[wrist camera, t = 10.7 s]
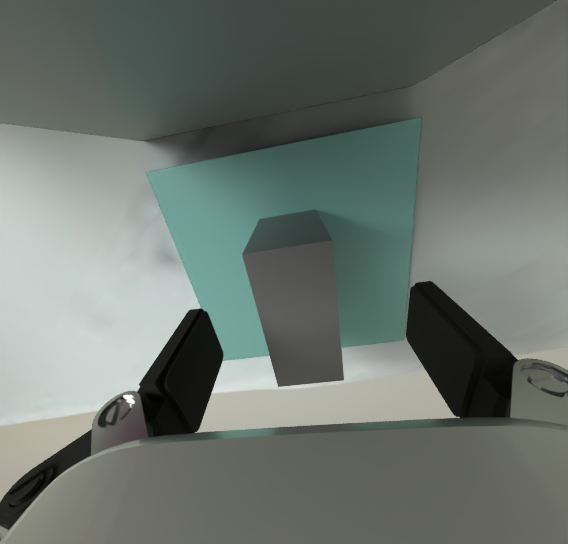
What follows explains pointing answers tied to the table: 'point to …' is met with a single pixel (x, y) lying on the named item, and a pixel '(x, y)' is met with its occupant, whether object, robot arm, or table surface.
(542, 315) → the table surface
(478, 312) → the table surface
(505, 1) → the bin
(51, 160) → the table surface
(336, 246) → the lid
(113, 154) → the table surface
